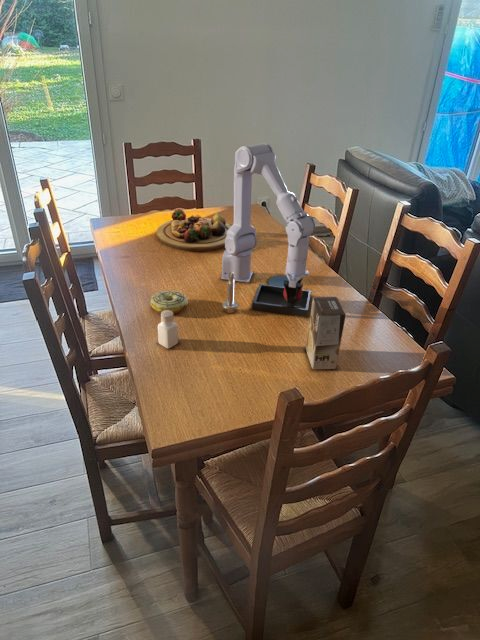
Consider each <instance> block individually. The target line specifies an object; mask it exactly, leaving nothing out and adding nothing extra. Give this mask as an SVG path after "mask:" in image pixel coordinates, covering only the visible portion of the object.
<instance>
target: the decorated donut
mask: <svg viewBox="0 0 480 640" xmlns="http://www.w3.org/2000/svg"><path fill="white" fill-rule="evenodd" d="M188 301H189V300H188V298H187V296H186V295H185V294H184V293H183V292H180V291H178V290H163V291H159V292H157V293H155V294H153V295H152V296H151V297H150V307H151V308H152V309H153V310H154V311H155V312H157V313H158V314H161V312H162V311H165V310H169V311H172V312H173V315H174V314H178V313H181V311H183V310H184V309H185V307H187V306H188V304H189V302H188Z"/></svg>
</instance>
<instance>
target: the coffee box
mask: <svg viewBox="0 0 480 640" xmlns="http://www.w3.org/2000/svg"><path fill="white" fill-rule="evenodd" d="M311 301H312V302H311V308H310V316H309V325H308V333H307V339H306V347H305V351H306V354H307V357H308V361H309V363H310V366H311V369H312V370H335V369H337V364H338V358H339V353H340V348H341V342H342V337H343V331H344V326H345V322H346V316H347V314H346V312H345V311H344V308H343V307H342V304H341V302H340V301H339V299H338V297H337V296H320V297H319V296H314V297H312V300H311Z"/></svg>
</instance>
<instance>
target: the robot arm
mask: <svg viewBox="0 0 480 640" xmlns="http://www.w3.org/2000/svg"><path fill="white" fill-rule="evenodd" d="M276 157H277V155H276V153H275V151H274V150H273V147H272V146H271V144H270V143H268V142H263V143H259V144H252V145H243V146H240V147H238V149H237V150H236V151H235V152H234V167H233V223H232V225H231V227H230V228H229V229H228V231H227V236H226V239H225V247H224V248H225V250H224V251H223V254H222V260H221V277H220V278H221V280H226V281H228V280H229V273H230V272H233V273H234V278H233V279H234V282H240V283H247V284H249V283H250V281H251V279H252V276H253V274H254V271H252V270H251V269H252V268H251V267H252V254H253V253H254V249H255V248H256V247H257V245H258V237H257V233H256V228H255V226H253V225H252V223H251V222H252V221H251V220H252V188H253V187H252V186H253V185H252V183H253V175H254V174H257V175H261V176H263V178H264V180H265V181H266V182H267V184H268V185H269V187H270V188H271V190H272V191H273V194H274V195H275V196H276V202H275V204H276V206H277V208H278V210H279V212H280V214H281V216H282V218H283V220H284V221H285V223H286V226H285V232H286V235H287V242H288V243H287V244H288V246H287V257H286V264H285V265H286V266H285V270H284V274H285V276H286V277H287V278H288V280H289V281H286V280H284V283H283V284H284V287H285V289H286V293H287V301H288V303H293V304H294V303H295V301H296V298H297V295H298V293H299V291H300V290H301V288H302V289H303V286H304V285H303V283H302V280H303V279H304V277H305V276H306V277H308V276H310V271H309V270H306V269H307V261H308V254H309V247H310V246H309V245H310V239H311V235H312V234H314V233H315V230H316V223H315V220H314V218H313V217H312V215H310V214H308V213H307V212H306V211H304V210H303V207H302V206H301V203H300V202H299V200H298V197H297V195H296V194H295V193H294V192H292V191H291V192H290V191H288V188H287V186H286V184H285V181H284V179H283V177H282V175H281V173H280V170H279V168H278V166H277V164H276V160H277V159H276Z"/></svg>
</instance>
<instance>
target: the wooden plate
mask: <svg viewBox="0 0 480 640" xmlns="http://www.w3.org/2000/svg"><path fill="white" fill-rule="evenodd" d="M231 226H232V225H231V224H229V223H227V221H226V218H225V217H224V216H223V215H222V214H221V213H219V212H215V213H214V214H213V216H212V217H211V218H210V217H202V216H201V215H199V214H195V215H194V214H192V215H191V216H189V217H187V214H186V212H185V211H184V210H183V209H181V208H176V209H175V210H174V211H173V212H172V214H171V220H168V221H166V222H164V223H162V224H160V225H159V226H158V227H157V230H156V232H155V234H156V237H157V239H158V240H159V242H161V243H162V244H163V245H165V246H168V247H171V248H174V249H178V250H183V251H190V252H191V251H192V252H193V251H194V252H204V251H213V250H218V249H219V250H220V249H223V248H225V239H226V236H227V231H228V229H229V228H230V227H231Z"/></svg>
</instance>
